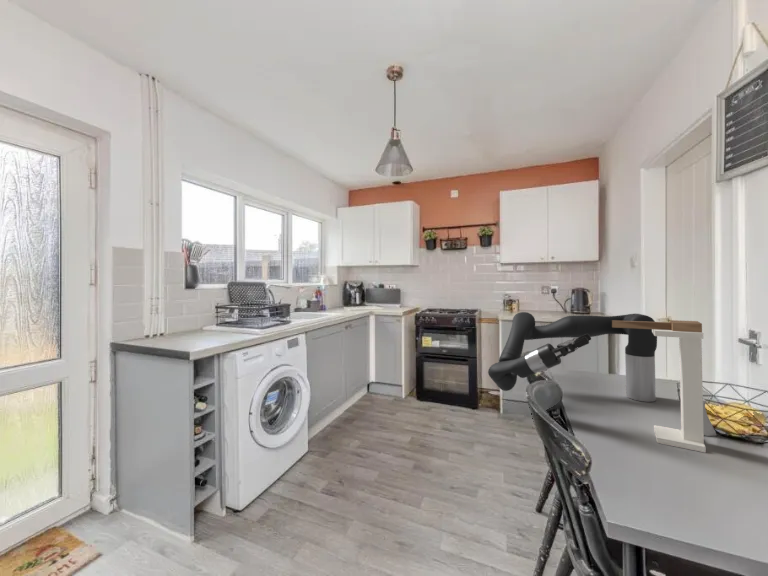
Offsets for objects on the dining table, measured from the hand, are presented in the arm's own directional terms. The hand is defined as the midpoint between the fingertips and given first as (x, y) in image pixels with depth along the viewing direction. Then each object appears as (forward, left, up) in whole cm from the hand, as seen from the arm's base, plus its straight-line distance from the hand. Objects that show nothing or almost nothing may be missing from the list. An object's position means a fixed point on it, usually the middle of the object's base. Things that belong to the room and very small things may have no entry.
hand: (588, 338), depth 106 cm
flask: (-12, +27, -28) cm, 41 cm away
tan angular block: (-1, +17, +4) cm, 18 cm away
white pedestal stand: (-1, +21, -28) cm, 35 cm away
